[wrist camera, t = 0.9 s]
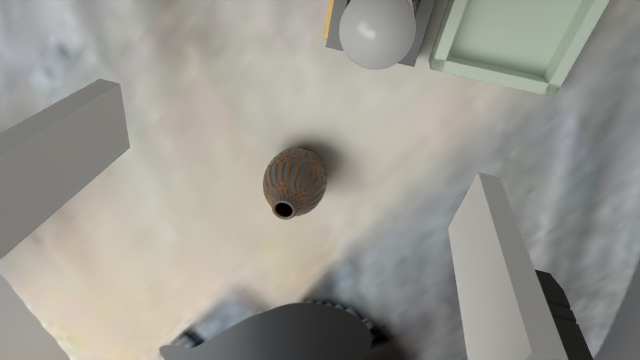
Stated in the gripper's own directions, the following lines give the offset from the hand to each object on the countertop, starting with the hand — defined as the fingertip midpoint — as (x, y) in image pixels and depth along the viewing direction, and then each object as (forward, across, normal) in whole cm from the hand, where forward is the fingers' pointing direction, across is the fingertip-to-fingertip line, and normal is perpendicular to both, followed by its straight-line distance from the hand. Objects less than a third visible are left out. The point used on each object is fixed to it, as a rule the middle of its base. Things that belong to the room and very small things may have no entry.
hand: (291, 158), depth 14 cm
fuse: (+25, +2, +2) cm, 25 cm away
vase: (+25, -2, -18) cm, 31 cm away
